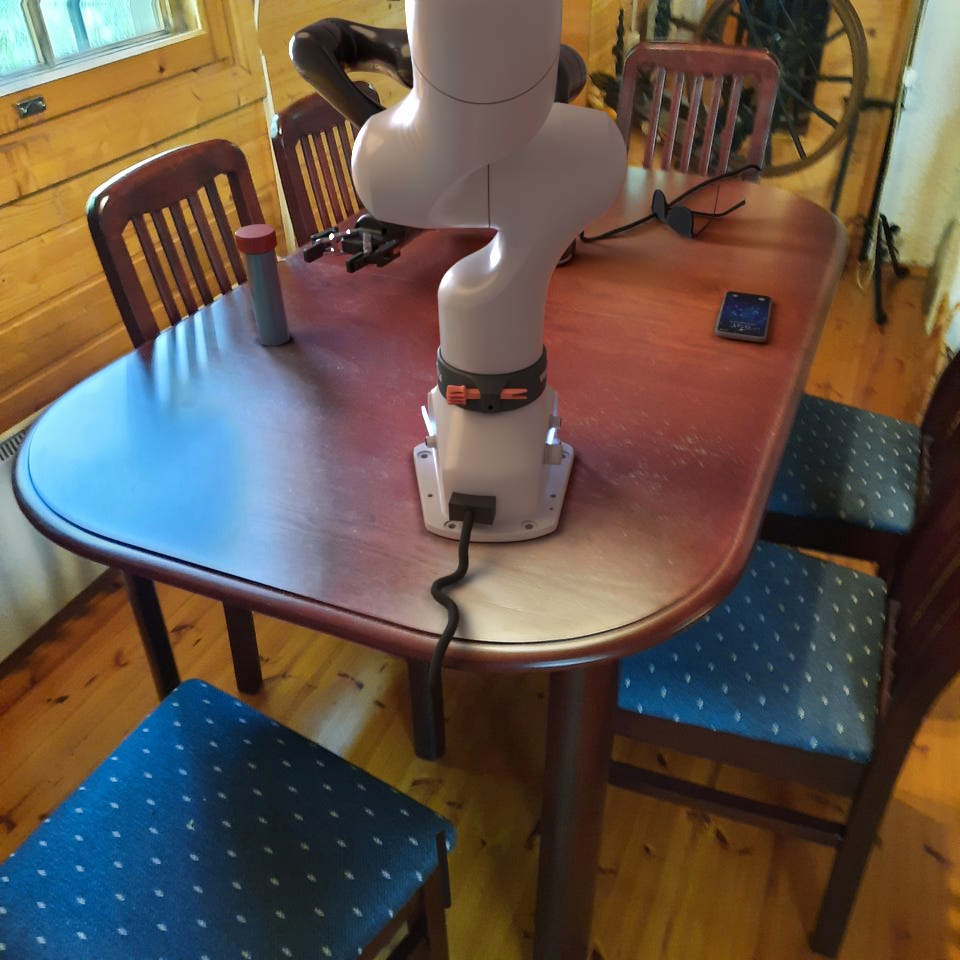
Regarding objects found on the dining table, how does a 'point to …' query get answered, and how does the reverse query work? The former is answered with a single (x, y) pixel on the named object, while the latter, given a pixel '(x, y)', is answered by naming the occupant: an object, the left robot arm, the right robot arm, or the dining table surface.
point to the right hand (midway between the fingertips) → (326, 261)
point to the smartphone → (744, 316)
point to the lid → (256, 239)
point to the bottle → (267, 297)
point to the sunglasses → (682, 214)
